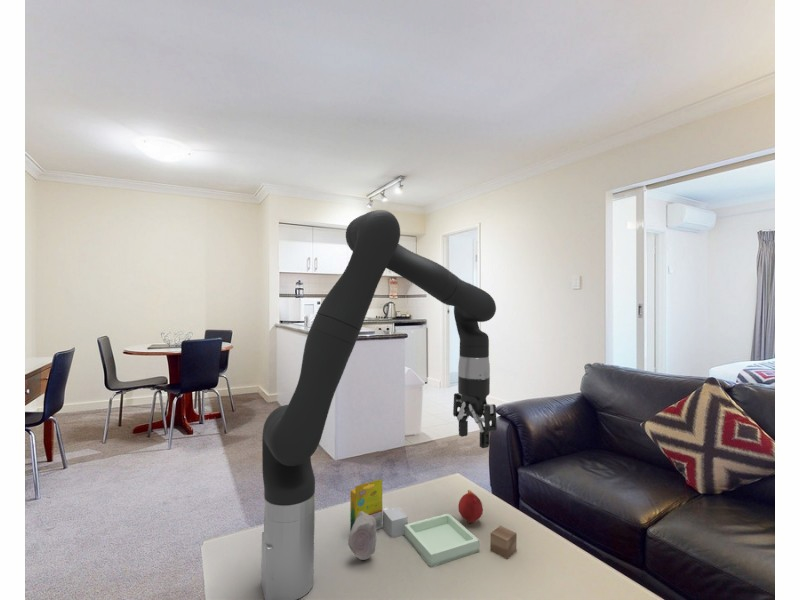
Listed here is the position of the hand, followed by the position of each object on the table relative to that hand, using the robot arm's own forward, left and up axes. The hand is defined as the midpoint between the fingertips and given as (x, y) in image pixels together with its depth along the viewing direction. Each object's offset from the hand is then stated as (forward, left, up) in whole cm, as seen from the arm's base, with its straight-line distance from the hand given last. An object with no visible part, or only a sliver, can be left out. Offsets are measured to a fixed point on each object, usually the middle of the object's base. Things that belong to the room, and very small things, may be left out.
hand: (473, 441), depth 97 cm
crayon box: (-24, +9, -20) cm, 33 cm away
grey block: (-18, +6, -20) cm, 28 cm away
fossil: (-29, -1, -20) cm, 35 cm away
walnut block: (0, -11, -20) cm, 23 cm away
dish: (-11, -3, -20) cm, 23 cm away
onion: (0, +1, -20) cm, 20 cm away
